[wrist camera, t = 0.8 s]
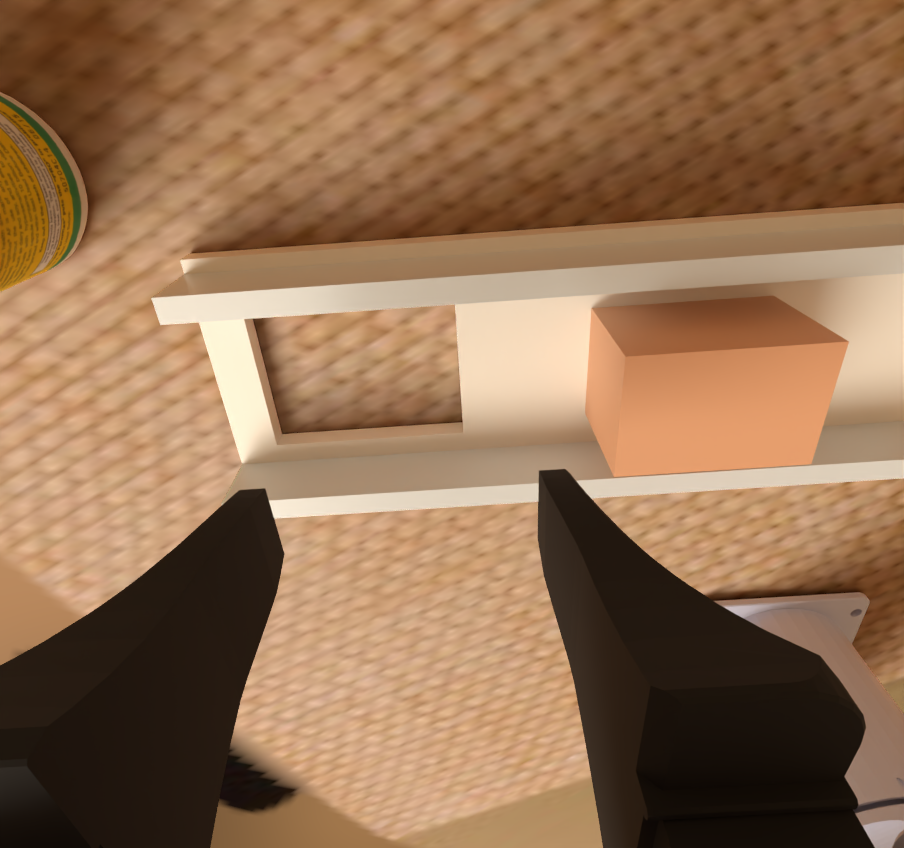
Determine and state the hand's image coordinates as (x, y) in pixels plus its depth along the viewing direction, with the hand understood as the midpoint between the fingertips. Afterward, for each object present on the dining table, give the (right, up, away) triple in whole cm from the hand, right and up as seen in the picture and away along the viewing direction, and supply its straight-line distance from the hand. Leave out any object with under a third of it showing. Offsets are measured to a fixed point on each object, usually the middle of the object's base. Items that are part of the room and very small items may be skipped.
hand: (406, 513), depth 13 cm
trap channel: (+6, +5, +7) cm, 10 cm away
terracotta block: (+9, +4, +6) cm, 12 cm away
